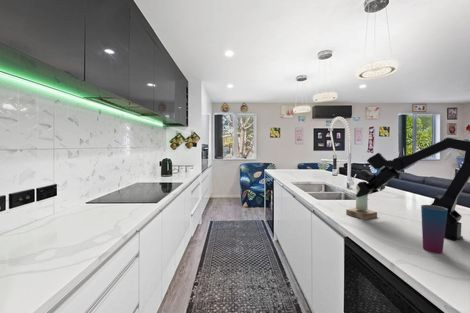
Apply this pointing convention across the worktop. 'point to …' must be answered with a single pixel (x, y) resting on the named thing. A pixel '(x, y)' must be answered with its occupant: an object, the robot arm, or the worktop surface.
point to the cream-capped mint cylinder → (361, 201)
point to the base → (361, 213)
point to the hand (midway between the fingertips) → (359, 195)
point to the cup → (433, 227)
